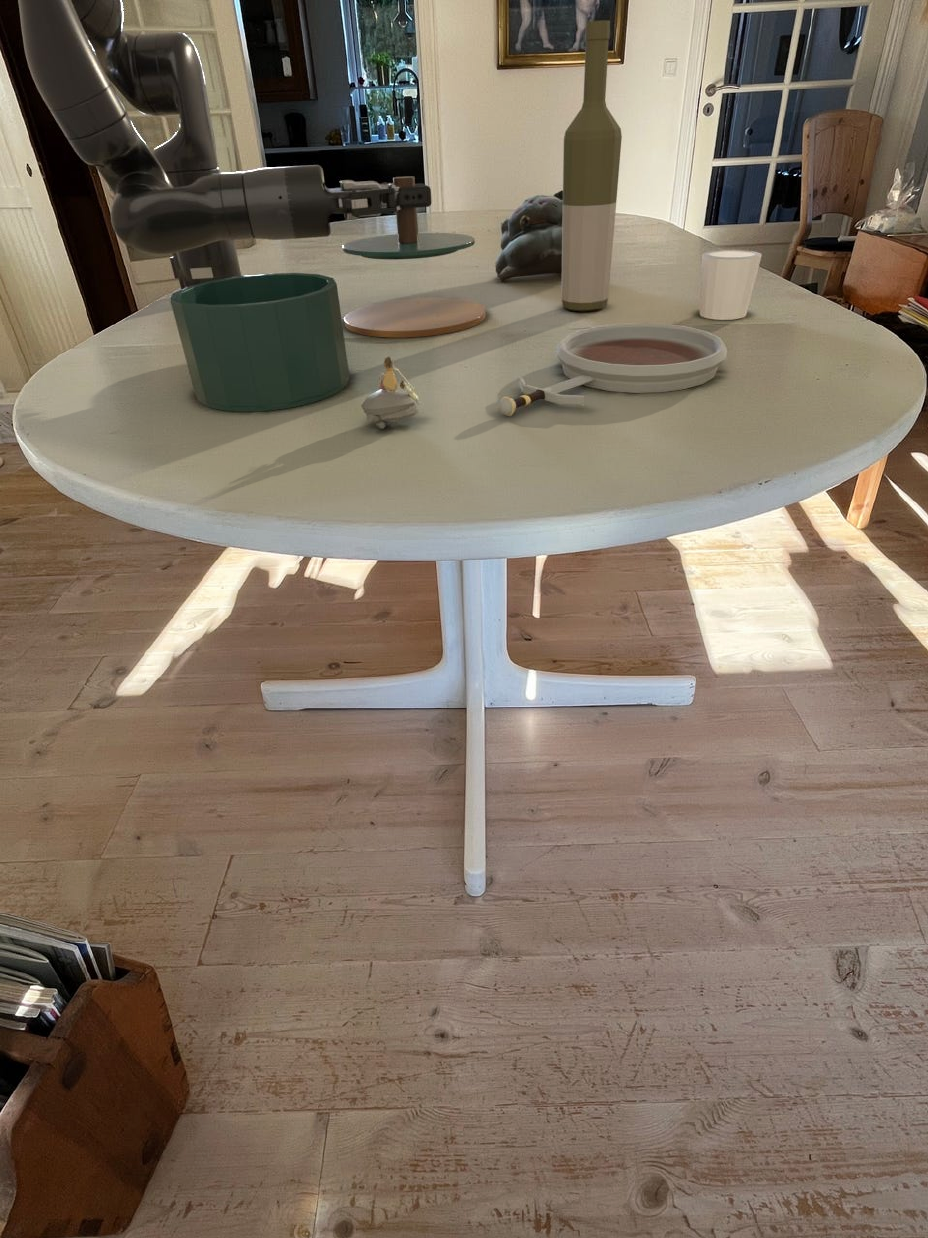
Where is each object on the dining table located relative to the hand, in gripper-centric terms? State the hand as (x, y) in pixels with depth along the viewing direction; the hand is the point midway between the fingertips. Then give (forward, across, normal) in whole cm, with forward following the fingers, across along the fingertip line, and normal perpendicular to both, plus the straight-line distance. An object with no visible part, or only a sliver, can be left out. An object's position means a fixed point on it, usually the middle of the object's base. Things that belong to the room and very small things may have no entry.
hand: (428, 194), depth 88 cm
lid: (-3, 0, +6) cm, 6 cm away
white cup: (+35, -12, +14) cm, 40 cm away
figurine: (-9, -39, +15) cm, 42 cm away
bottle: (+20, -2, +14) cm, 25 cm away
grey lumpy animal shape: (+19, +22, +14) cm, 33 cm away
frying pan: (+12, -33, +15) cm, 38 cm away
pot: (-21, -24, +15) cm, 35 cm away
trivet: (-3, 0, +14) cm, 15 cm away
